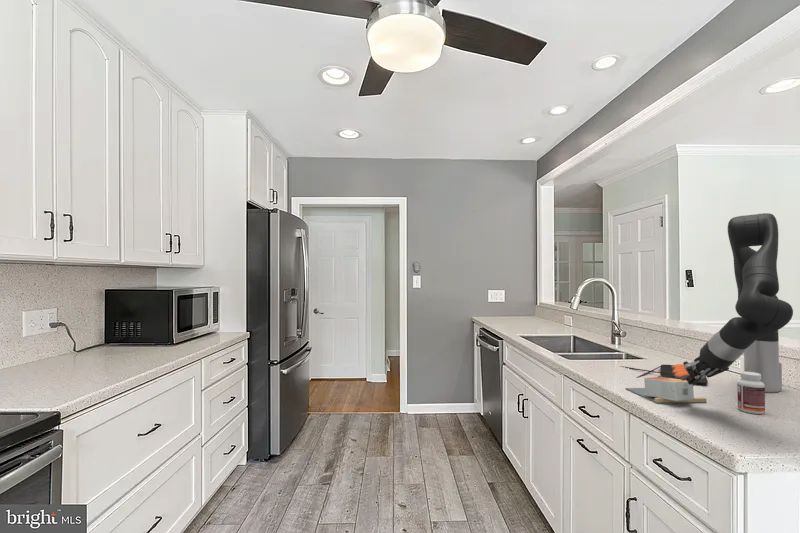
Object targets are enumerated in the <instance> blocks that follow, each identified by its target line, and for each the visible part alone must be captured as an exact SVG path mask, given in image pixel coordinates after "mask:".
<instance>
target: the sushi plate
mask: <svg viewBox="0 0 800 533" xmlns="http://www.w3.org/2000/svg"><path fill="white" fill-rule="evenodd" d="M620 367H621V368H624V367H625V368H624V369H628V368H629V369H630V370H635V371H643V372H645V373H643V374H641V375H638V376H637V377H635V378H637V379H639V378H641V377H644V376H647V375H648V374H650V373H657V374H660V377H666V378H673V379H680V380H686V378H687V377H688V376H689V374H688V372H687V371H686V369H685V367H684V364H683V363H681V364H680V363H678V364H661V365H659V366H658V367H655V368H654V369H651V370H648V369H641V368H636V367H629V366H622V365H620ZM659 368H660V371H655V370H657V369H659ZM708 381H709V380H708V377H707V376H706V377H705V378H703V379H700V380H699V381H698V382H697V383H696V384H695V385H701V384H704V385H705V384H706V385H707V384H708Z"/></svg>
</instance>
